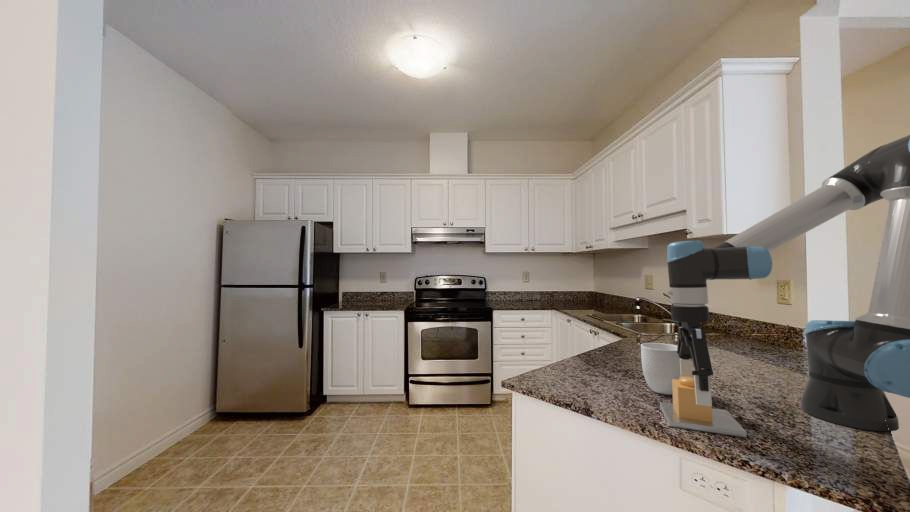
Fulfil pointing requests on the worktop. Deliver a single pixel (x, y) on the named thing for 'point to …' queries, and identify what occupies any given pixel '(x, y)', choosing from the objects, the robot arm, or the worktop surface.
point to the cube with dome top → (688, 401)
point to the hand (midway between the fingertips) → (695, 394)
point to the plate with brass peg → (705, 422)
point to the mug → (660, 366)
